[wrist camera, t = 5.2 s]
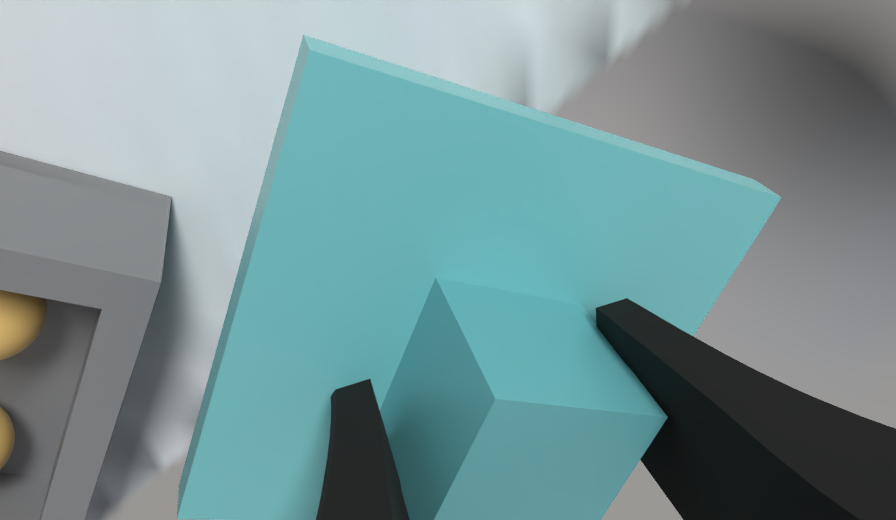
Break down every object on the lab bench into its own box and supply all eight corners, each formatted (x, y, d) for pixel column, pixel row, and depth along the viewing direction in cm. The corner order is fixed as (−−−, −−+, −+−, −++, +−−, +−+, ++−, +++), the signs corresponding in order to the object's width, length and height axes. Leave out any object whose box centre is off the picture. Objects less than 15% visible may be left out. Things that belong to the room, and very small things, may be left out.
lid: (549, 480, 17) (635, 647, 14) (180, 462, 14) (167, 684, 10) (734, 166, 14) (916, 284, 10) (299, 24, 10) (345, 130, 6)
